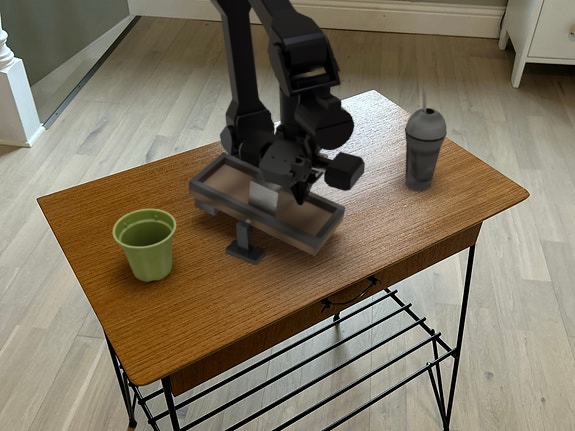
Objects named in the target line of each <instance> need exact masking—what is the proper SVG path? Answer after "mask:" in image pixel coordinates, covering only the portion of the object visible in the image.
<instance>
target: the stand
mask: <svg viewBox="0 0 575 431" xmlns="http://www.w3.org/2000/svg"><path fill="white" fill-rule="evenodd" d="M235 226H236V238H234V239H233V240H232V241H231V242H230V243H229V244H228V245H227V246H226V247H225V249H224V252H225V254H228V255H230V256H232V257H235V258H238V259H240V260H242V261H243V260H244V261H246V262H248V263H250V264H253V265H255V266H257V265H258V264H259V262H261V260H262V259H263V258H264V257H265V255H267V250H266V249H265V248H261V247H259V246H256V245H253V237H252V236H253V235H252V233H253V232H252V226H251V224H250V223H247V222H244V221H241V220H239V221H237V223H235Z"/></svg>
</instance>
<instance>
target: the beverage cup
mask: <svg viewBox="0 0 575 431" xmlns="http://www.w3.org/2000/svg"><path fill="white" fill-rule="evenodd" d="M422 92H423V93H422V94H423V96H422V99H423V100H422V102H423V103H422V106H423V107H422V108H419V109H417V110H416V111H415V112H413V113H412V114H411V115H410V116H409V118H408V120H407V122H406V126H405V128H404V133H405V141H406V146H405V147H406V148H405V150H406V151H405V185H406V188H408V189H409V190H412V191H414V192H424V191H427V190H429V189H430V187H431V183H432V181H433V177H434V174H435V170H436V166H437V163H438V159H439V156H440V151H441V147H442V145H443V143H444V141H445V139H446V136H447V123H446V120H445V118H444V116H443V115H442V114H441V113H440V111H438V110H436V109H434V108H431V107H427V85H424V86H423V90H422Z"/></svg>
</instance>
